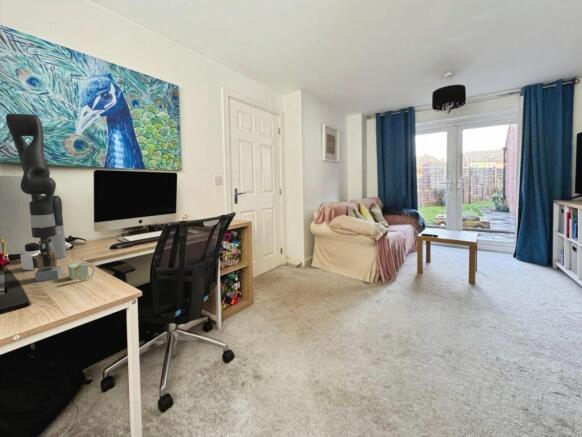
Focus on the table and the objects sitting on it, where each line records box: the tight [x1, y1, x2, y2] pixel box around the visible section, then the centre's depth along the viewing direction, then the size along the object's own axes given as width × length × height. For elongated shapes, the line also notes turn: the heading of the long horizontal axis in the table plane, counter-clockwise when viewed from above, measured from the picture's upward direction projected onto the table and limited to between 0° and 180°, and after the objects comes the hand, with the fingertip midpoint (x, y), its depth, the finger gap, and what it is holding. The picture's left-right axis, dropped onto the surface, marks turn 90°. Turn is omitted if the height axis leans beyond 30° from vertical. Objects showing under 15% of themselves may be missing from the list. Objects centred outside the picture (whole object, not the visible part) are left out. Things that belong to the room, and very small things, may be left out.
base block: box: [34, 265, 63, 283], centre depth 116 cm, size 7×7×4 cm
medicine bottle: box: [20, 241, 41, 271], centre depth 128 cm, size 7×7×12 cm
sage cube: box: [67, 261, 90, 281], centre depth 117 cm, size 6×6×6 cm
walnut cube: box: [37, 251, 58, 270], centre depth 115 cm, size 6×6×6 cm
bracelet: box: [74, 261, 96, 282], centre depth 113 cm, size 7×3×8 cm, turn 134°
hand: (47, 264), depth 115 cm, fingers closed on walnut cube, 5 cm apart
